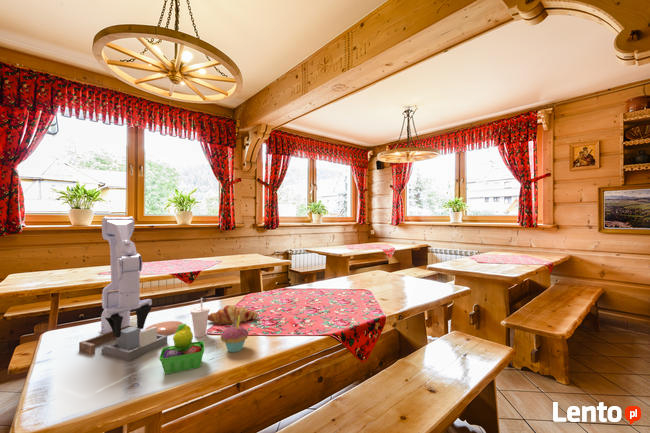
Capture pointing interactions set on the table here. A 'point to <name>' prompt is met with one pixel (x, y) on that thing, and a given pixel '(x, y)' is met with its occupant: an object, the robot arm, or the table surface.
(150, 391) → the table surface
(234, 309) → the croissant
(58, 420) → the table surface
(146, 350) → the grey square tray
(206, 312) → the smoothie
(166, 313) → the table surface
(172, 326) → the plate
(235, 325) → the figurine
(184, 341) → the fruit basket
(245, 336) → the cupcake
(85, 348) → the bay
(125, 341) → the grey block
